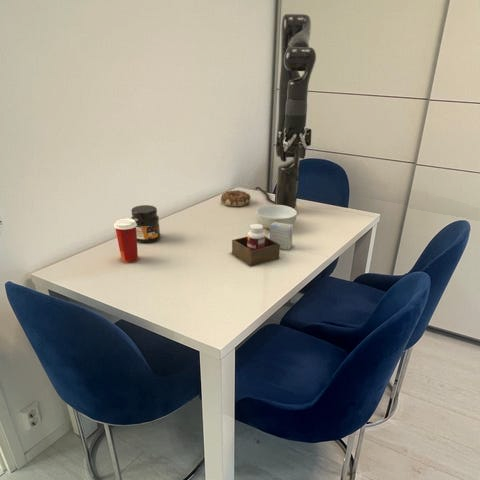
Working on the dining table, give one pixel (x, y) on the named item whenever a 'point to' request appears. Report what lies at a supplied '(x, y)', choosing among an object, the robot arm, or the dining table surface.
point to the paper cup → (127, 239)
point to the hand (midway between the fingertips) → (292, 159)
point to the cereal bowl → (275, 215)
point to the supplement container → (146, 223)
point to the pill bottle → (256, 237)
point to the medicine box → (282, 234)
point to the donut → (235, 198)
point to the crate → (255, 251)
